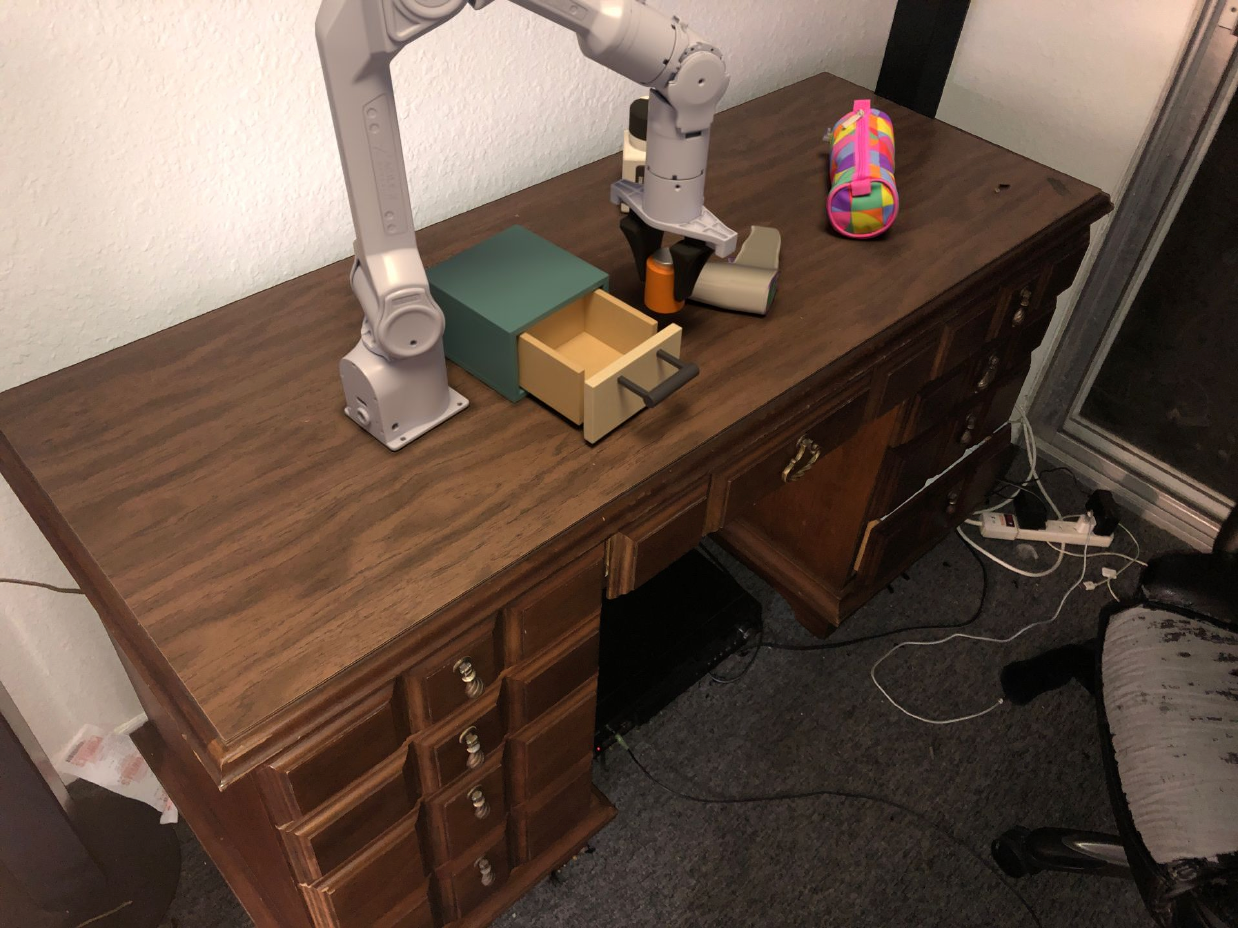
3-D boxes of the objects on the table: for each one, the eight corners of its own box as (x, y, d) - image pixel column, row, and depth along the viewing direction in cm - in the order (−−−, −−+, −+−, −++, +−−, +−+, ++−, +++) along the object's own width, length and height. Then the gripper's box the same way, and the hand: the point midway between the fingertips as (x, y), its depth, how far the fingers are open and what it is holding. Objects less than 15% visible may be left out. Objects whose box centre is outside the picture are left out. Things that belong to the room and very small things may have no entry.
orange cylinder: (666, 318, 97) (670, 272, 93) (636, 301, 99) (638, 255, 95) (692, 301, 99) (697, 255, 95) (662, 285, 101) (665, 239, 97)
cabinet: (607, 344, 102) (609, 274, 95) (514, 403, 94) (509, 333, 88) (520, 292, 108) (517, 223, 102) (427, 344, 101) (416, 274, 94)
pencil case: (817, 158, 133) (829, 95, 126) (885, 165, 132) (901, 101, 126) (818, 241, 117) (832, 174, 111) (895, 248, 117) (913, 181, 110)
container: (681, 216, 121) (689, 118, 111) (620, 214, 121) (624, 115, 111) (679, 185, 126) (687, 89, 117) (621, 183, 126) (625, 87, 117)
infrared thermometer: (782, 257, 116) (772, 321, 105) (684, 243, 118) (664, 305, 107) (788, 222, 113) (778, 285, 102) (688, 209, 115) (667, 269, 104)
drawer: (713, 405, 94) (720, 349, 89) (629, 468, 87) (632, 412, 82) (588, 330, 102) (588, 275, 97) (502, 383, 95) (498, 327, 90)
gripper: (764, 178, 87) (745, 301, 96) (645, 126, 93) (639, 245, 103) (716, 206, 83) (701, 331, 93) (596, 149, 90) (594, 271, 99)
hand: (665, 288), depth 98 cm, fingers closed on orange cylinder, 4 cm apart
